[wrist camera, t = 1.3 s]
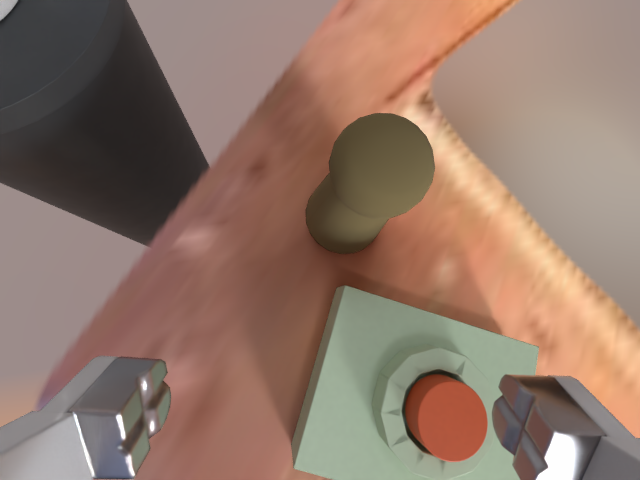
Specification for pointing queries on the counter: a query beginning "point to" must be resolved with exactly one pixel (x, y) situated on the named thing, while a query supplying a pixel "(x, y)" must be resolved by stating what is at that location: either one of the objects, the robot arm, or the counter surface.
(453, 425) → the release button
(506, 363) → the button base
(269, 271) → the counter surface
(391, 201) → the cork
